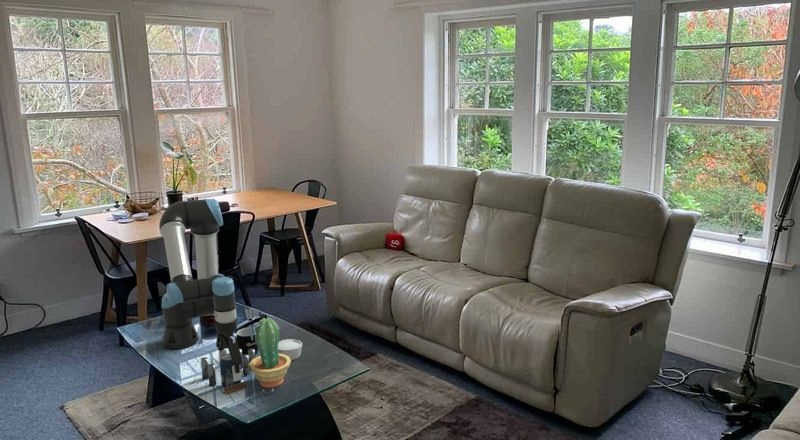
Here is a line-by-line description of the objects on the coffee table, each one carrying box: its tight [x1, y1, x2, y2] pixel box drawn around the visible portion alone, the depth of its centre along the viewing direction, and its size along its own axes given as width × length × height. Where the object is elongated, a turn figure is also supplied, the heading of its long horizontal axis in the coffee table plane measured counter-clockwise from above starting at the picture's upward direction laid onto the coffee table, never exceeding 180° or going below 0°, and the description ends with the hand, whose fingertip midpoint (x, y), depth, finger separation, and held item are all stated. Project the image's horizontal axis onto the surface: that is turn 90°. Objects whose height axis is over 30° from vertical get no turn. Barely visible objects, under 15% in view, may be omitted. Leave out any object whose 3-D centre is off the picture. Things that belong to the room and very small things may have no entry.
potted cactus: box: [249, 317, 292, 388], centre depth 229 cm, size 15×15×25 cm
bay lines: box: [216, 384, 225, 395], centre depth 229 cm, size 7×9×1 cm
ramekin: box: [278, 338, 303, 361], centre depth 253 cm, size 11×11×5 cm
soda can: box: [219, 353, 242, 389], centre depth 227 cm, size 7×7×12 cm
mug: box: [236, 326, 259, 356], centre depth 255 cm, size 12×9×10 cm
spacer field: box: [200, 348, 256, 387], centre depth 238 cm, size 13×20×8 cm, turn 126°
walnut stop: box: [223, 380, 249, 396], centre depth 225 cm, size 1×8×2 cm, turn 125°
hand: (230, 373), depth 227 cm, fingers open, 13 cm apart
